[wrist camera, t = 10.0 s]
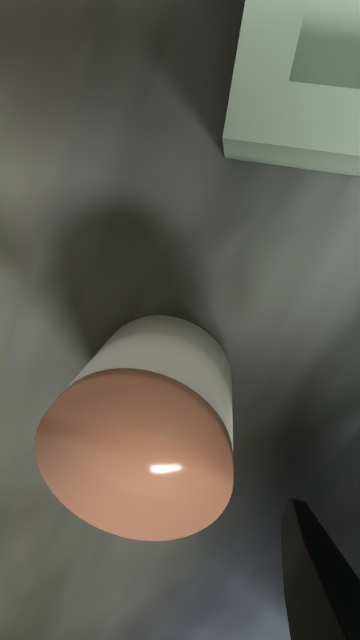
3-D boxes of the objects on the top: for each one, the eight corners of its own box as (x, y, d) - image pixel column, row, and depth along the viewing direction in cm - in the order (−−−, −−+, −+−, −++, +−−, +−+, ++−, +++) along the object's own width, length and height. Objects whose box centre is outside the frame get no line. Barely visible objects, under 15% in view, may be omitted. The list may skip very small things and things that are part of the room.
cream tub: (245, 330, 12) (256, 410, 8) (217, 443, 15) (212, 559, 10) (104, 302, 13) (31, 362, 8) (97, 416, 15) (37, 515, 10)
